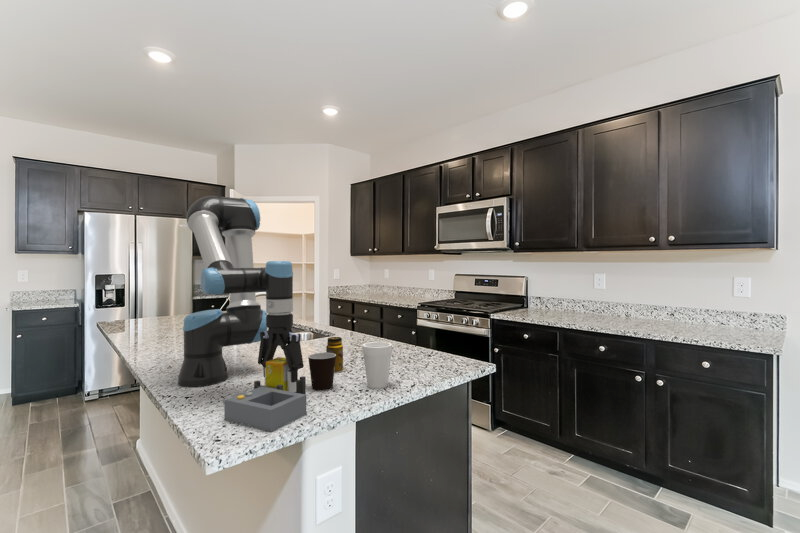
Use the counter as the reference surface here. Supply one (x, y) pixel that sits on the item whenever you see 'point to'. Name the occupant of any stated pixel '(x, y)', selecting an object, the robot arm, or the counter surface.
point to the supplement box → (277, 373)
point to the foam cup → (377, 363)
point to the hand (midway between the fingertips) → (280, 390)
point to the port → (265, 408)
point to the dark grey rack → (299, 385)
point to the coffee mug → (322, 370)
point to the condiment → (336, 352)
